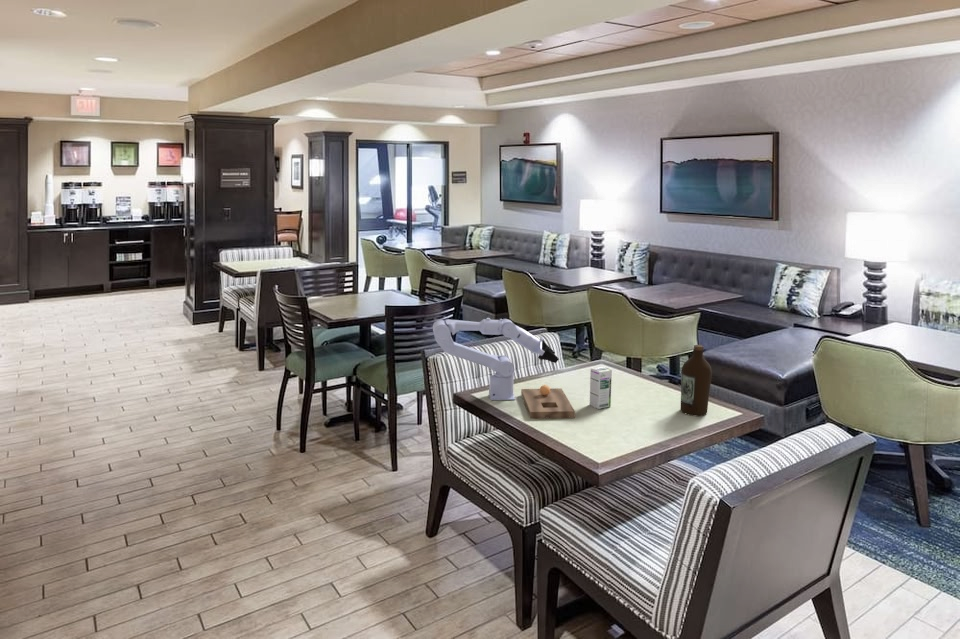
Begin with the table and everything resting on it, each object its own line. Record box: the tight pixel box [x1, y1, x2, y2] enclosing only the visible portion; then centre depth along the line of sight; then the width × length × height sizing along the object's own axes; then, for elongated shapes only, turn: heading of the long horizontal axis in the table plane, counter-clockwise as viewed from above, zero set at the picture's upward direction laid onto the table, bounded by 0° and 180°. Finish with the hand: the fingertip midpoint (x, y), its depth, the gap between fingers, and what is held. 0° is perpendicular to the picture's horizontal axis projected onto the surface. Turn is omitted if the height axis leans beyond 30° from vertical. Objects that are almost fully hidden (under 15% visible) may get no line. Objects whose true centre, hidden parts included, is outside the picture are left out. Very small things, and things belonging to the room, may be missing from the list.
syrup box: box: [589, 366, 613, 410], centre depth 252 cm, size 6×6×14 cm
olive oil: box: [679, 344, 713, 416], centre depth 245 cm, size 11×11×25 cm
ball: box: [539, 384, 551, 396], centre depth 257 cm, size 4×4×4 cm
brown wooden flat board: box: [520, 387, 576, 419], centre depth 253 cm, size 16×26×2 cm, turn 4°
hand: (555, 357), depth 262 cm, fingers open, 7 cm apart
